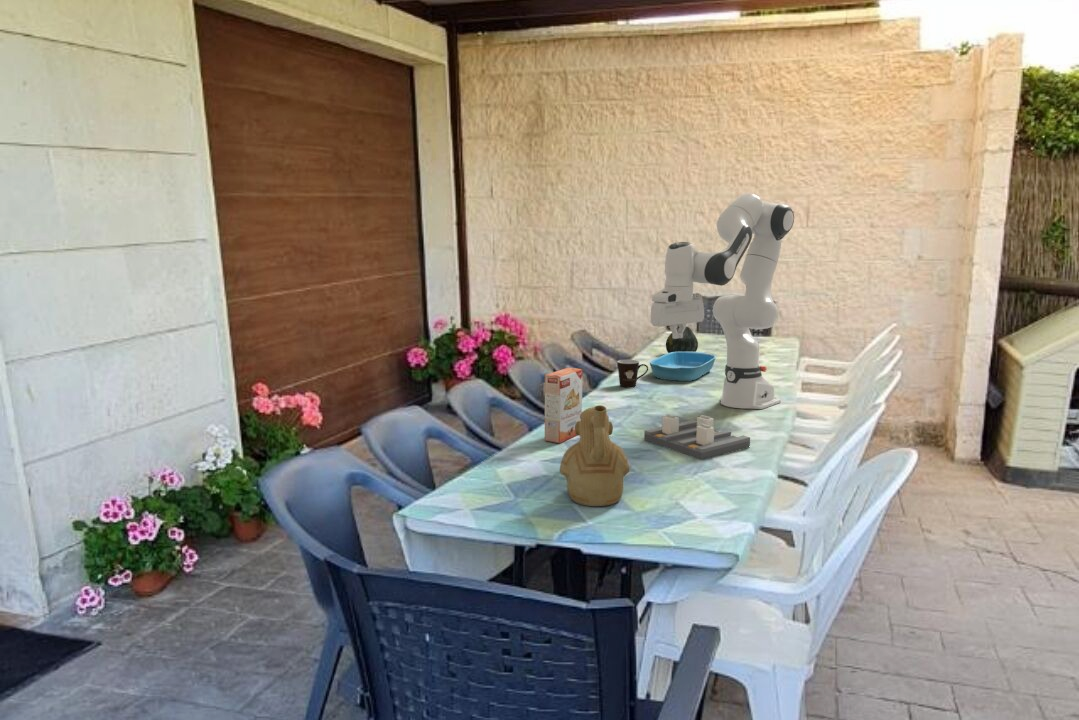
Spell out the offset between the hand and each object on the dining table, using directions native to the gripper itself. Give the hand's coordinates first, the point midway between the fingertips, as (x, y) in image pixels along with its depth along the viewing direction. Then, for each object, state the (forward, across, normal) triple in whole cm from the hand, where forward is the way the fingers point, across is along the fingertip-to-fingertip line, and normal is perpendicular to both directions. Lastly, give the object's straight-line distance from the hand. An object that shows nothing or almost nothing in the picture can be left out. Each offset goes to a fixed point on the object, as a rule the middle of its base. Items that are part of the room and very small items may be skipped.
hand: (677, 338), depth 249 cm
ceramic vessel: (+29, +61, +35) cm, 76 cm away
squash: (+29, -92, -91) cm, 133 cm away
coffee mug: (+29, -28, -54) cm, 68 cm away
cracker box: (+29, +36, -12) cm, 48 cm away
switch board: (+29, +8, +17) cm, 35 cm away
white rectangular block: (+27, +4, +17) cm, 32 cm away
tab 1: (+27, +12, +10) cm, 31 cm away
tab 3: (+27, +12, +24) cm, 38 cm away
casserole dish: (+30, -61, -59) cm, 90 cm away
